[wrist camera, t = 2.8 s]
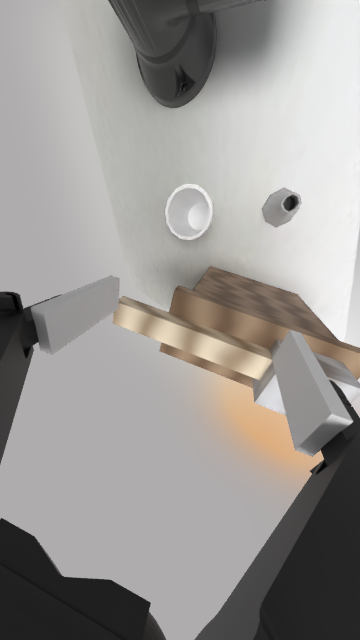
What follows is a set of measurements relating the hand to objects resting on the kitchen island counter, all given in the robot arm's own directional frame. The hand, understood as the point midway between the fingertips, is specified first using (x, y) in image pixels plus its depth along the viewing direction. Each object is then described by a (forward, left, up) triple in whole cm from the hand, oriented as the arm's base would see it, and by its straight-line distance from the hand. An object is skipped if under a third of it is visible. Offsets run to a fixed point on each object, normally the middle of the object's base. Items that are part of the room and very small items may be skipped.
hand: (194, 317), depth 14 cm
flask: (-14, +6, -41) cm, 43 cm away
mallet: (+8, +5, -12) cm, 16 cm away
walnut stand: (+7, +11, -40) cm, 42 cm away
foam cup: (-5, -10, -41) cm, 42 cm away
